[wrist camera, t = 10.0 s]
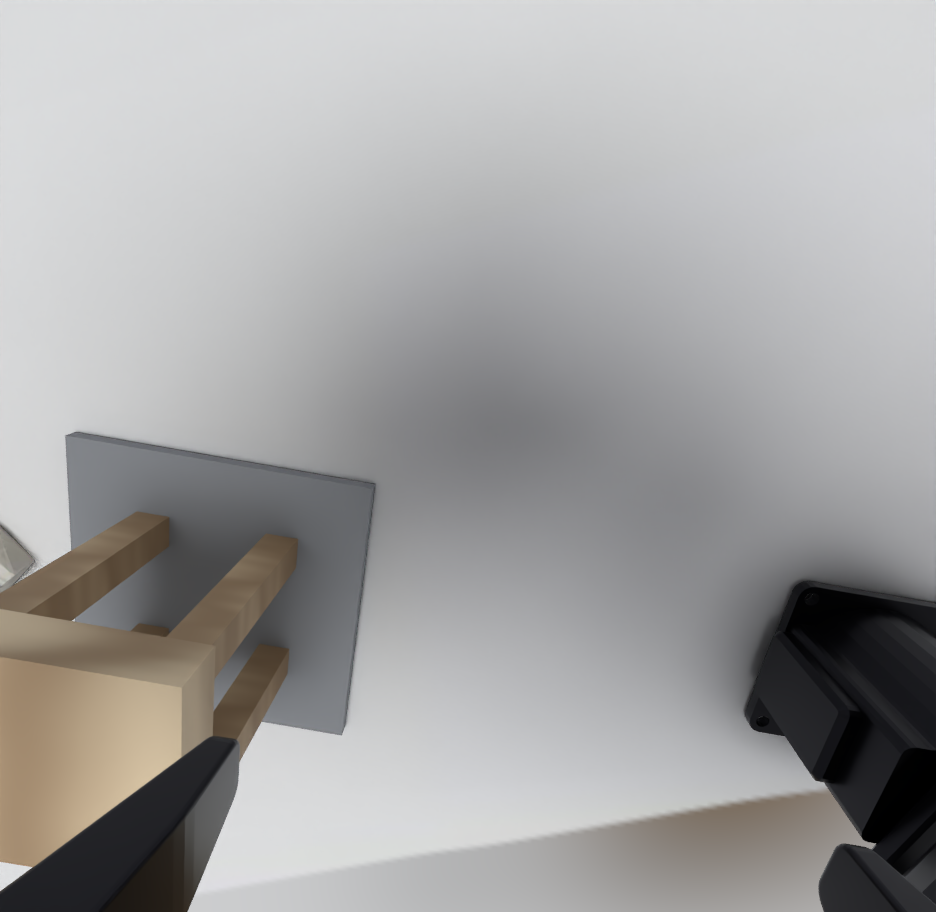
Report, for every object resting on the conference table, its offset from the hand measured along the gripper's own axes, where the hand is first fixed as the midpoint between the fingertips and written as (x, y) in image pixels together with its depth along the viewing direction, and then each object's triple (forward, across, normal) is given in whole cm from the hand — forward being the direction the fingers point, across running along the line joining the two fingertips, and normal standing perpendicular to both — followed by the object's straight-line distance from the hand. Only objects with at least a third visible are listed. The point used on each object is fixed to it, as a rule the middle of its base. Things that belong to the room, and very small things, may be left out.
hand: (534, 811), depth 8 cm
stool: (+12, +10, +6) cm, 16 cm away
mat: (+12, +10, +6) cm, 17 cm away
